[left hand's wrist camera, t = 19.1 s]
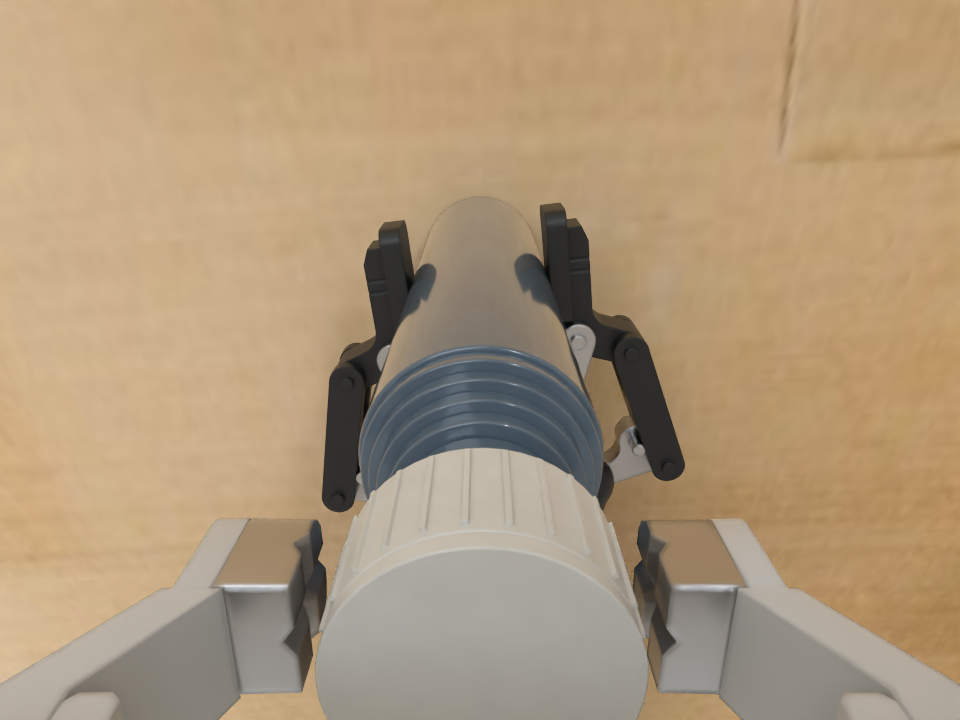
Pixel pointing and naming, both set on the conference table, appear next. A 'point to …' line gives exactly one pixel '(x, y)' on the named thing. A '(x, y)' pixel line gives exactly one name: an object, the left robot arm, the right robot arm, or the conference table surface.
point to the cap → (481, 600)
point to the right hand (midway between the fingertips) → (471, 218)
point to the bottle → (481, 357)
